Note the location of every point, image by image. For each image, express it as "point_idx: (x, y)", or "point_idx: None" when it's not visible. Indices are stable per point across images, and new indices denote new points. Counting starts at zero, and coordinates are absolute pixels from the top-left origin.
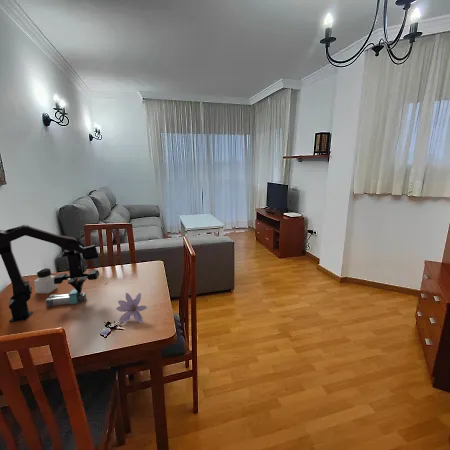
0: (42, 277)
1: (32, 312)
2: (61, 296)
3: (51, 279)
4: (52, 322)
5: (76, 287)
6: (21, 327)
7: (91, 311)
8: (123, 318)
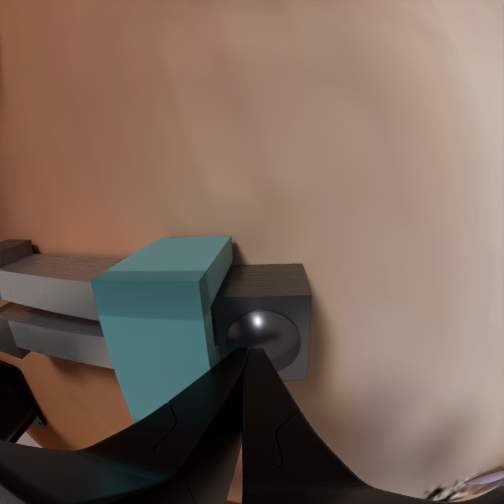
0: None
1: (18, 374)
2: (47, 306)
3: None
4: None
5: (220, 501)
6: None
7: (378, 451)
8: (483, 476)
